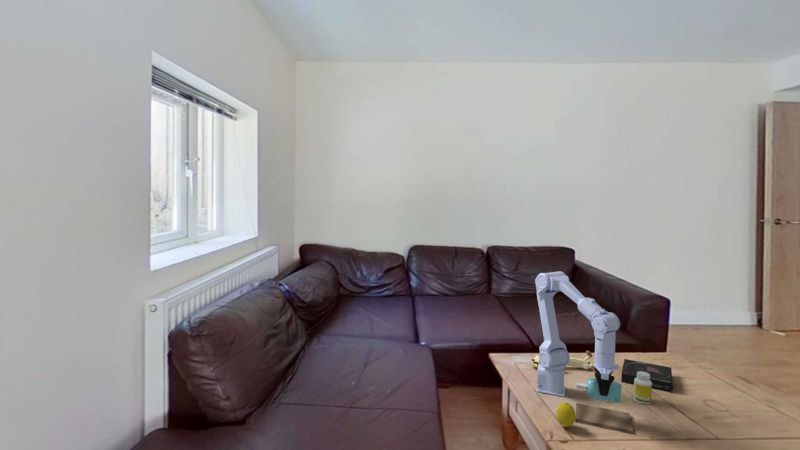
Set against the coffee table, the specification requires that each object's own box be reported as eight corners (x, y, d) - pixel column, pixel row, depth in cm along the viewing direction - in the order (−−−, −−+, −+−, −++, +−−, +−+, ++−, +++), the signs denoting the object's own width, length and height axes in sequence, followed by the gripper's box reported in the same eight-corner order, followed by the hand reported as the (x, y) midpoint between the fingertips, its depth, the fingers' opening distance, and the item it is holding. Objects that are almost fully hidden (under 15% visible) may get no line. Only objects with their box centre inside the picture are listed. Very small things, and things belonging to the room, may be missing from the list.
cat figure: (585, 366, 175) (527, 361, 176) (587, 347, 174) (529, 341, 175) (596, 376, 165) (534, 371, 166) (598, 356, 164) (536, 350, 165)
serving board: (575, 421, 130) (575, 418, 130) (576, 405, 140) (576, 402, 140) (632, 433, 123) (632, 430, 123) (629, 416, 133) (629, 413, 133)
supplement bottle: (653, 405, 140) (654, 377, 139) (636, 403, 141) (637, 376, 140) (647, 397, 145) (648, 371, 145) (631, 396, 146) (632, 369, 146)
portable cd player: (670, 376, 163) (671, 366, 163) (672, 394, 149) (672, 383, 148) (624, 367, 172) (624, 358, 171) (621, 383, 157) (621, 373, 157)
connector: (576, 395, 133) (576, 380, 132) (576, 389, 136) (577, 375, 136) (621, 403, 127) (622, 388, 127) (620, 397, 131) (621, 382, 130)
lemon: (552, 422, 129) (553, 398, 129) (569, 422, 130) (570, 397, 129) (561, 432, 124) (561, 407, 123) (578, 431, 124) (579, 406, 124)
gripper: (620, 361, 122) (618, 405, 123) (617, 345, 135) (616, 385, 136) (594, 357, 125) (593, 400, 126) (594, 342, 138) (592, 381, 139)
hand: (603, 392), depth 131 cm, fingers closed on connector, 4 cm apart
